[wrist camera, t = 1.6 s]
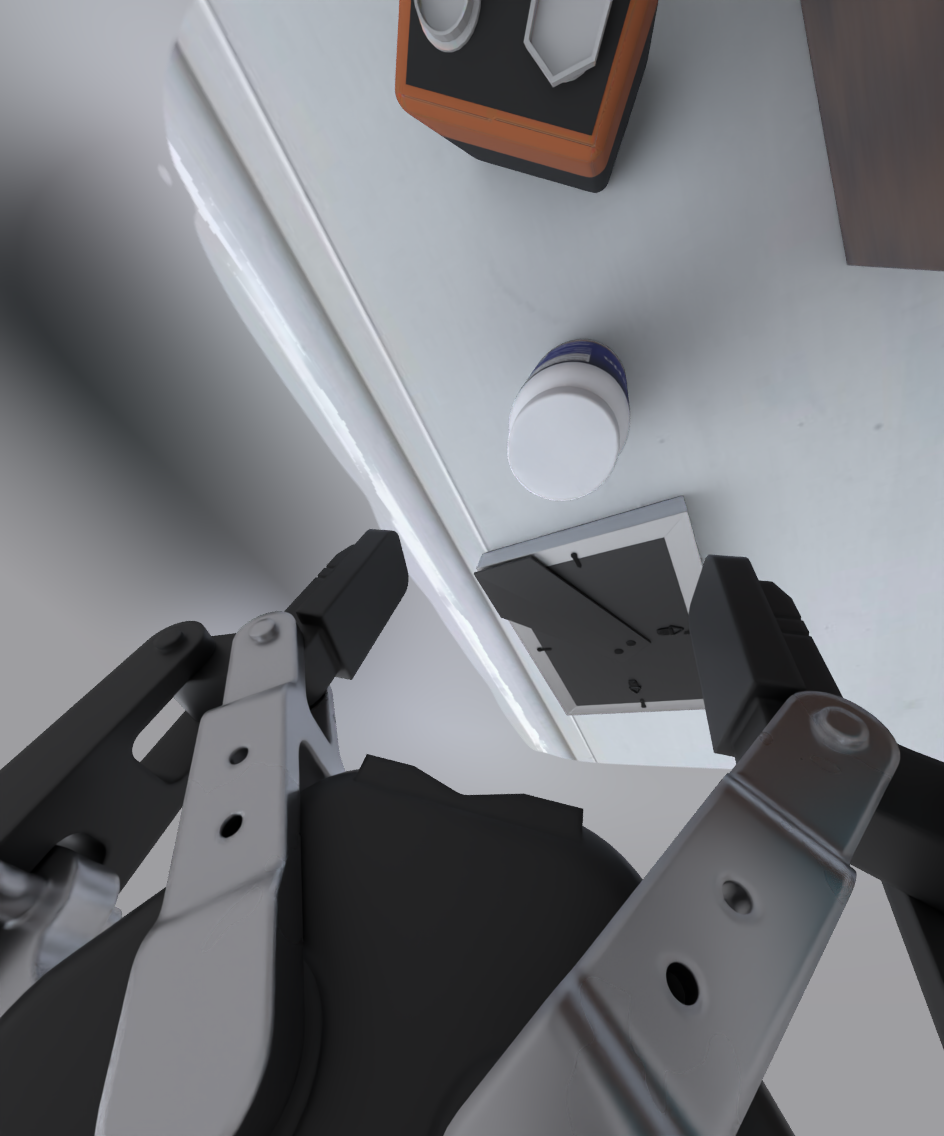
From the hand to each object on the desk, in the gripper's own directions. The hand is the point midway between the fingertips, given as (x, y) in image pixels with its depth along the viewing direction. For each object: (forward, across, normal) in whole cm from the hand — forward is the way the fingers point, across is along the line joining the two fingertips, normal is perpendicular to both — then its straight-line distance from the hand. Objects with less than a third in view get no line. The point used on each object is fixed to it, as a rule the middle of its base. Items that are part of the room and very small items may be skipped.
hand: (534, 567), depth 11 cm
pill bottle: (+18, 0, 0) cm, 18 cm away
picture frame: (+18, -4, +19) cm, 27 cm away
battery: (+18, +2, -12) cm, 22 cm away
